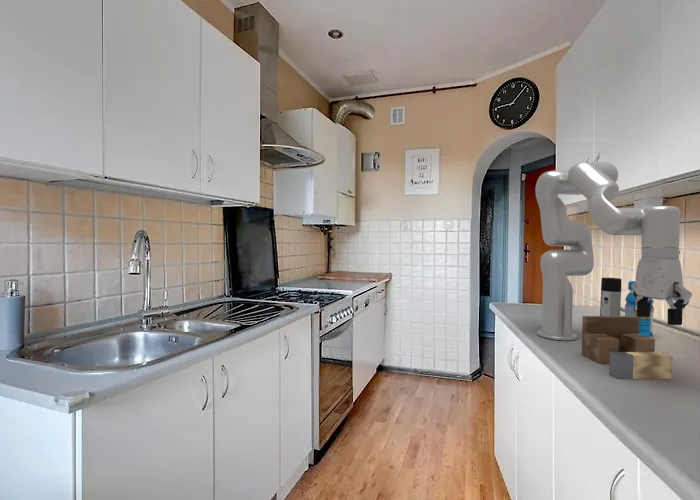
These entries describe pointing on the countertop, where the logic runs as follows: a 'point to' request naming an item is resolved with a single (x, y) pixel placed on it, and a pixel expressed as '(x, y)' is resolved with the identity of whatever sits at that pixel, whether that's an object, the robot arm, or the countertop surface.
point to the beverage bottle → (631, 310)
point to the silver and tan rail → (640, 365)
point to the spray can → (610, 297)
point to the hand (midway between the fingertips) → (658, 320)
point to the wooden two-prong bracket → (612, 337)
